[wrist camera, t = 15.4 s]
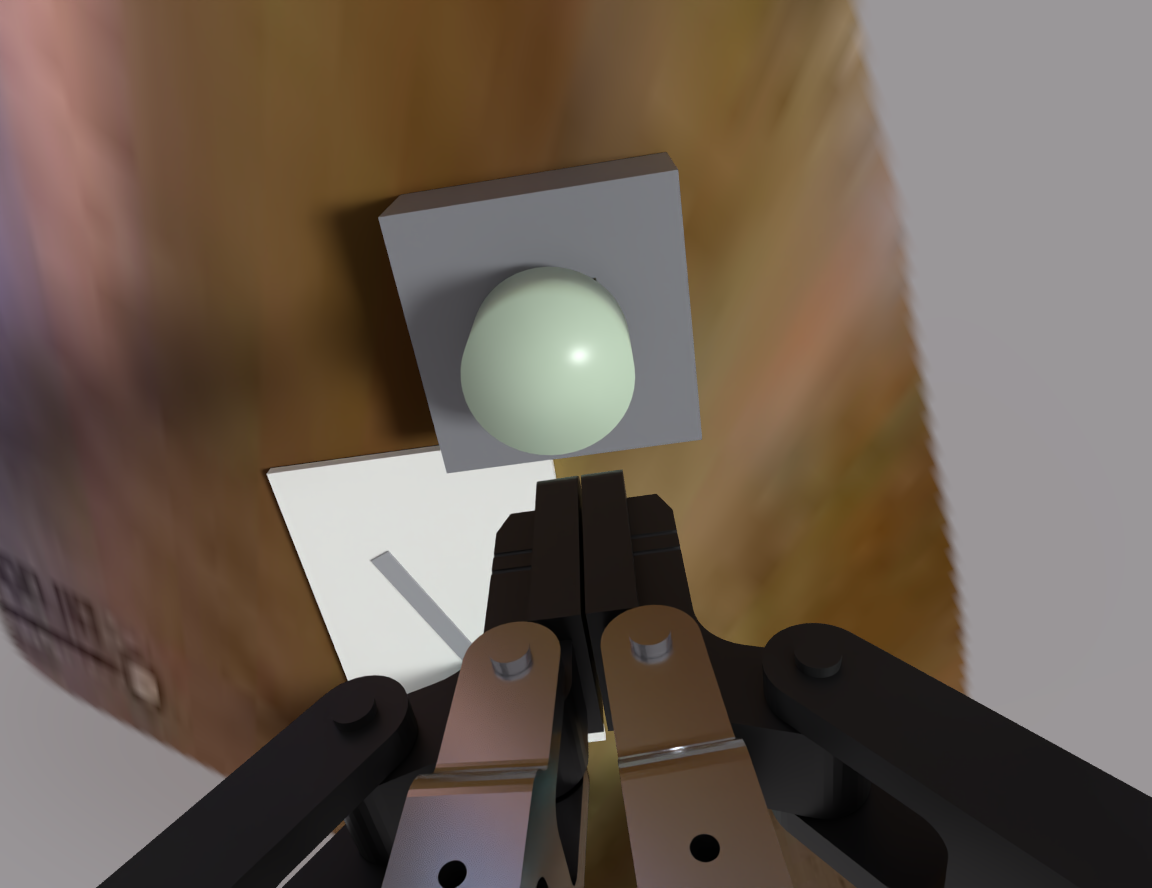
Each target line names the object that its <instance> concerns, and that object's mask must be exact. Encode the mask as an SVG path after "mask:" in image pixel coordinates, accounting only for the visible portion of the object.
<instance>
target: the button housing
mask: <svg viewBox="0 0 1152 888" xmlns="http://www.w3.org/2000/svg"><path fill="white" fill-rule="evenodd" d="M378 219H379V222H380V226H381V230H382V234H383V237H384V241H385V245H386V249H387V252H388V256H389V260H390V263H391V267H392V271H393V275H394V278H395V282H396V286H397V290H398V293H399V297H400V301H401V304H402V308H403V312H404V316H405V319H406V323H407V327H408V331H409V334H410V338H411V342H412V345H413V349H414V353H415V357H416V360H417V364H418V368H419V372H420V375H421V379H422V383H423V386H424V390H425V394H426V398H427V401H428V405H429V409H430V412H431V416H432V420H433V424H434V427H435V431H436V435H437V439H438V442H439V446H440V450H441V453H442V457H443V461H444V465H445V468H446V472H447V473H454V472H462V471H469V470H477V469H484V468H492V467H499V466H507V465H514V464H522V463H529V462H537V461H544V460H552V459H559V458H567V457H574V456H582V455H589V454H597V453H604V452H612V451H619V450H627V449H634V448H642V447H649V446H657V445H664V444H672V443H679V442H687V441H694V440H701V439H702V433H701V422H700V410H699V399H698V388H697V377H696V366H695V354H694V343H693V332H692V321H691V309H690V298H689V287H688V276H687V265H686V253H685V242H684V231H683V220H682V209H681V197H680V186H679V175H678V169H677V167H676V166H675V164H674V163H673V161H672V160H671V158H670V157H669V155H668V153H667V152H664V153H658V154H652V155H645V156H639V157H633V158H627V159H620V160H614V161H608V162H602V163H596V164H589V165H583V166H577V167H571V168H564V169H558V170H552V171H546V172H540V173H533V174H527V175H521V176H515V177H509V178H502V179H496V180H490V181H484V182H477V183H471V184H465V185H459V186H453V187H446V188H440V189H434V190H428V191H422V192H415V193H409V194H403V195H400V196H399V197H398V198H397V199H396V200H395V201H394V202H393V203H392V204H391V205H390V206H389V207H388V208H387V209H386V210H385V211H384V212H383V213H382V214H381V215H380V216H379V217H378ZM538 267H561V268H566V269H571V270H574V271H577V272H580V273H582V274H584V275H587V276H589V277H591V278H596V281H597V282H598V283H600V284H601V285H602V286H603V287H604V288H606V289H607V290H608V291H609V293H610V294H611V295H612V296H613V297H614V298H615V300H616V301H617V303H618V304H619V306H620V308H621V310H622V311H623V313H624V316H625V319H626V322H627V325H628V330H629V336H630V342H631V348H632V354H633V361H634V367H635V385H634V391H633V395H632V399H631V402H630V404H629V407H628V409H627V411H626V413H625V414H624V416H623V418H622V419H621V420H620V422H619V423H618V424H617V426H616V427H615V428H614V429H613V430H612V431H611V432H610V433H609V434H607V435H606V436H605V437H604V438H602V439H601V440H599V441H598V442H596V443H594V444H593V445H591V446H588V447H586V448H584V449H582V450H578V451H575V452H572V453H567V454H561V455H538V454H532V453H527V452H523V451H520V450H517V449H515V448H512V447H510V446H508V445H506V444H504V443H502V442H500V441H499V440H497V439H496V438H495V437H493V436H492V435H490V434H489V433H488V432H487V431H486V430H485V429H484V428H483V427H482V426H481V425H480V424H479V422H478V421H477V420H476V419H475V417H474V416H473V414H472V413H471V411H470V409H469V407H468V405H467V403H466V400H465V397H464V394H463V390H462V385H461V362H462V357H463V353H464V350H465V347H466V344H467V341H468V338H469V335H470V332H471V329H472V326H473V323H474V320H475V317H476V315H477V312H478V310H479V308H480V306H481V304H482V303H483V301H484V299H485V298H486V297H487V296H488V294H489V293H490V292H491V291H492V290H493V289H494V288H495V287H496V286H497V285H498V284H500V283H501V282H503V281H504V280H505V279H507V278H509V277H511V276H513V275H514V274H516V273H519V272H522V271H525V270H528V269H533V268H538Z"/></svg>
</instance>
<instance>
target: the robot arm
mask: <svg viewBox="0 0 1152 888" xmlns="http://www.w3.org/2000/svg"><path fill="white" fill-rule="evenodd" d="M581 487H582V489H581ZM602 701H603V702H602ZM603 706H604V711H605V716H606V721H607V726H608V731H614V734H615V741H616V747H617V753H618V766H619V773H620V779H621V786H622V792H623V798H624V805H625V811H626V817H627V824H628V830H629V836H630V843H631V849H632V855H633V862H634V868H635V874H636V881H637V887H638V888H794V886H793V883H792V880H791V877H790V874H789V872H788V869H787V866H786V863H785V860H784V857H783V854H782V851H781V848H780V845H779V842H778V839H777V836H776V833H775V830H774V827H773V824H772V821H771V818H770V815H769V812H768V809H771V810H772V812H773V814H774V816H775V818H776V819H777V821H778V822H779V823H780V825H781V826H782V827H783V828H784V829H785V830H786V831H787V832H789V833H790V834H791V835H792V836H794V837H795V838H796V839H797V840H798V841H800V842H801V843H802V844H803V845H805V846H806V847H807V848H808V849H810V850H811V851H812V852H813V853H814V854H816V855H817V856H818V857H819V858H821V859H822V860H823V861H824V862H826V863H827V864H828V865H829V866H830V867H832V868H833V869H834V870H835V871H837V872H838V873H839V874H840V875H842V876H843V877H844V878H845V879H846V880H848V881H849V882H850V883H851V884H853V885H854V886H855V887H856V888H1152V797H1150V796H1148V795H1146V794H1144V793H1143V792H1141V791H1139V790H1137V789H1135V788H1133V787H1132V786H1130V785H1128V784H1126V783H1124V782H1123V781H1121V780H1119V779H1117V778H1115V777H1113V776H1112V775H1110V774H1108V773H1106V772H1104V771H1102V770H1101V769H1099V768H1097V767H1095V766H1093V765H1092V764H1090V763H1088V762H1086V761H1084V760H1082V759H1081V758H1079V757H1077V756H1075V755H1073V754H1071V753H1070V752H1068V751H1066V750H1064V749H1062V748H1060V747H1059V746H1057V745H1055V744H1053V743H1051V742H1049V741H1048V740H1046V739H1044V738H1042V737H1040V736H1039V735H1037V734H1035V733H1033V732H1031V731H1029V730H1028V729H1026V728H1024V727H1022V726H1020V725H1018V724H1017V723H1015V722H1013V721H1011V720H1009V719H1008V718H1006V717H1004V716H1002V715H1000V714H998V713H997V712H995V711H993V710H991V709H989V708H987V707H986V706H984V705H982V704H980V703H978V702H977V701H975V700H973V699H971V698H969V697H967V696H966V695H964V694H962V693H960V692H958V691H957V690H955V689H953V688H951V687H949V686H947V685H946V684H944V683H942V682H940V681H938V680H936V679H935V678H933V677H931V676H929V675H927V674H926V673H924V672H922V671H920V670H918V669H916V668H915V667H913V666H911V665H909V664H907V663H905V662H904V661H902V660H900V659H898V658H896V657H894V656H893V655H891V654H889V653H887V652H885V651H884V650H882V649H880V648H878V647H876V646H874V645H873V644H871V643H869V642H867V641H865V640H863V639H862V638H860V637H858V636H856V635H854V634H853V633H851V632H849V631H846V630H844V629H842V628H839V627H836V626H832V625H827V624H819V623H806V624H799V625H795V626H791V627H788V628H786V629H784V630H782V631H780V632H778V633H777V634H775V635H774V636H773V637H772V638H771V639H770V640H769V641H768V643H767V644H766V646H765V648H764V647H756V646H748V645H742V644H736V643H732V642H729V641H726V640H723V639H721V638H719V637H717V636H715V635H713V634H712V633H710V632H709V631H707V630H706V629H705V628H704V627H703V626H702V625H701V624H700V623H699V621H698V620H697V618H696V616H695V614H694V611H693V607H692V602H691V597H690V592H689V587H688V583H687V578H686V573H685V568H684V563H683V558H682V554H681V550H680V544H679V539H678V534H677V529H676V524H675V520H674V515H673V510H672V509H671V508H670V507H669V506H668V505H667V504H666V503H665V502H664V501H663V500H662V499H661V498H660V497H659V496H658V495H657V494H652V495H644V496H637V497H629V498H627V496H626V490H625V483H624V476H623V470H616V471H608V472H601V473H594V474H587V475H582V476H581V484H580V480H579V477H578V476H573V477H566V478H559V479H551V480H544V481H537V484H536V499H535V510H534V511H527V512H520V513H512V514H510V515H509V516H508V518H507V519H506V521H505V522H504V523H503V525H502V526H501V527H500V529H499V530H498V532H497V533H496V540H495V547H494V558H493V563H492V575H491V578H490V586H489V594H488V602H487V610H486V617H485V625H484V633H483V634H482V635H480V636H479V637H478V638H477V639H476V640H475V641H474V642H473V643H472V644H471V645H470V646H469V648H468V649H467V651H466V653H465V655H464V658H463V661H462V665H461V669H460V670H459V671H458V672H456V673H455V674H453V675H451V676H450V677H448V678H446V679H444V680H442V681H439V682H437V683H434V684H432V685H429V686H427V687H424V688H421V689H419V690H416V691H414V692H411V693H408V694H407V693H406V691H405V689H404V687H403V686H402V685H401V684H400V683H399V682H397V681H396V680H394V679H392V678H390V677H386V676H380V675H370V676H363V677H358V678H355V679H352V680H349V681H347V682H345V683H342V684H340V685H339V686H337V687H335V688H334V689H332V690H331V691H329V692H328V693H327V694H325V695H324V696H323V697H322V698H321V699H319V700H318V701H317V702H316V703H315V704H313V705H312V706H311V707H310V708H309V709H307V710H306V711H305V712H304V713H303V714H302V715H300V716H299V717H298V718H297V719H296V720H294V721H293V722H292V723H291V724H290V725H289V726H287V727H286V728H285V729H284V730H283V731H281V732H280V733H279V734H278V735H277V736H275V737H274V738H273V739H272V740H271V741H270V742H268V743H267V744H266V745H265V746H264V747H262V748H261V749H260V750H259V751H258V752H257V753H255V754H254V755H253V756H252V757H251V758H249V759H248V760H247V761H246V762H245V763H243V764H242V765H241V766H240V767H239V768H238V769H236V770H235V771H234V772H233V773H232V774H230V775H229V776H228V777H227V778H226V779H225V780H223V781H222V782H221V783H220V784H219V785H217V786H216V787H215V788H214V789H213V790H212V791H210V792H209V793H208V794H207V795H206V796H204V797H203V798H202V799H201V800H200V801H198V802H197V803H196V804H195V805H194V806H193V807H191V808H190V809H189V810H188V811H187V812H185V813H184V814H183V815H182V816H181V817H179V819H177V820H176V821H175V822H174V823H172V824H171V825H170V826H169V827H168V828H166V829H165V830H164V831H163V832H162V833H161V834H159V835H158V836H157V837H156V838H155V839H153V840H152V841H151V842H150V843H149V844H148V845H146V846H145V847H144V848H143V849H142V850H140V851H139V852H138V853H137V854H136V855H134V856H133V857H132V858H131V859H130V860H128V861H127V862H126V863H125V864H124V865H123V866H121V867H120V868H119V869H118V870H117V871H115V872H114V873H113V874H112V875H111V876H110V877H108V878H107V879H106V880H105V881H104V882H102V883H101V884H100V885H99V886H98V887H96V888H276V887H277V886H278V885H279V883H281V881H282V880H283V879H284V878H285V877H286V876H287V875H288V874H289V873H290V872H291V871H292V870H293V869H294V868H295V867H296V866H297V865H298V864H299V863H300V862H301V861H302V860H303V859H304V858H306V856H308V854H310V853H311V852H312V851H313V850H314V849H315V848H316V847H317V846H318V845H319V843H321V842H322V841H323V840H324V838H326V837H327V836H328V835H329V834H330V833H331V832H332V831H333V830H334V829H335V828H336V827H337V826H338V825H339V824H340V823H341V822H342V821H343V820H344V821H345V823H346V824H345V825H344V826H343V827H342V828H341V829H340V830H339V831H338V832H337V833H336V834H335V835H334V836H333V837H332V838H331V839H330V841H328V842H327V843H326V844H325V845H324V846H323V847H322V848H321V849H320V850H319V851H318V852H317V853H316V854H315V855H314V856H313V857H312V858H311V859H310V860H309V861H308V862H307V863H306V864H305V865H304V866H303V867H302V868H301V869H300V870H299V871H298V872H297V873H296V874H295V875H294V876H293V877H292V878H291V879H290V880H289V881H288V882H287V883H286V884H285V885H284V886H283V887H282V888H584V874H585V856H586V838H587V820H588V802H589V774H588V769H587V765H588V756H589V755H588V734H590V733H599V732H604V722H603Z"/></svg>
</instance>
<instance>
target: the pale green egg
mask: <svg viewBox="0 0 1152 888" xmlns="http://www.w3.org/2000/svg"><path fill="white" fill-rule="evenodd" d="M461 385H462V390H463V394H464V397H465V400H466V403H467V405H468V407H469V409H470V411H471V413H472V414H473V416H474V417H475V419H476V420H477V421H478V422H479V424H480V425H481V426H482V427H483V428H484V429H485V430H486V431H487V432H488V433H489V434H490V435H492V436H493V437H495V438H496V439H497V440H499V441H500V442H502V443H504V444H506V445H508V446H510V447H512V448H515V449H517V450H520V451H523V452H527V453H532V454H538V455H561V454H567V453H572V452H575V451H578V450H582V449H584V448H586V447H588V446H591V445H593V444H594V443H596V442H598V441H599V440H601V439H602V438H604V437H605V436H606V435H607V434H609V433H610V432H611V431H612V430H613V429H614V428H615V427H616V426H617V424H618V423H619V422H620V420H621V419H622V418H623V416H624V414H625V413H626V411H627V409H628V407H629V404H630V402H631V399H632V395H633V391H634V385H635V367H634V361H633V354H632V348H631V342H630V336H629V330H628V325H627V322H626V319H625V316H624V313H623V311H622V310H621V308H620V306H619V304H618V303H617V301H616V300H615V298H614V297H613V296H612V295H611V294H610V293H609V291H608V290H607V289H606V288H604V287H603V286H602V285H601V284H600V283H598V282H597V281H595V280H594V279H592V278H591V277H589V276H587V275H584V274H582V273H580V272H577V271H574V270H571V269H566V268H561V267H538V268H533V269H528V270H525V271H522V272H519V273H516V274H514V275H513V276H511V277H509V278H507V279H505V280H504V281H503V282H501V283H500V284H498V285H497V286H496V287H495V288H494V289H493V290H492V291H491V292H490V293H489V294H488V296H487V297H486V298H485V299H484V301H483V303H482V304H481V306H480V308H479V310H478V312H477V315H476V317H475V320H474V323H473V326H472V329H471V332H470V335H469V338H468V341H467V344H466V347H465V350H464V353H463V357H462V362H461Z"/></svg>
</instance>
